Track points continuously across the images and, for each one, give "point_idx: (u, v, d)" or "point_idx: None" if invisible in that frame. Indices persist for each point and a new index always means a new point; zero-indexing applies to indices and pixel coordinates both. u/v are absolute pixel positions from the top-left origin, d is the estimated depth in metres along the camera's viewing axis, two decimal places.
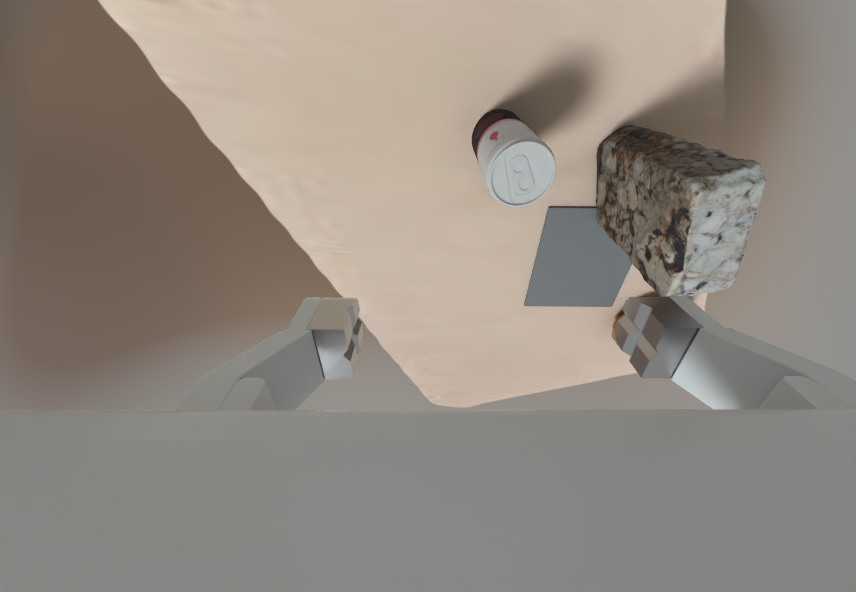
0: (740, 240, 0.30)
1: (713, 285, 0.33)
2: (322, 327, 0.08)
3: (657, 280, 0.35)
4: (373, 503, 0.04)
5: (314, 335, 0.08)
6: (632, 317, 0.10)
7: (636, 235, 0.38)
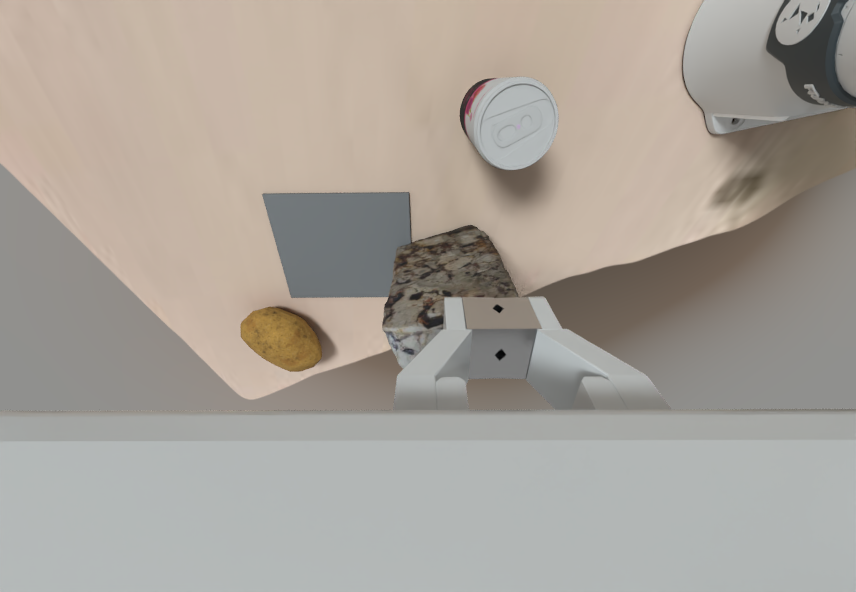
0: None
1: (409, 360, 0.32)
2: (479, 326, 0.08)
3: (398, 314, 0.31)
4: (373, 503, 0.04)
5: (474, 334, 0.08)
6: None
7: (424, 281, 0.36)
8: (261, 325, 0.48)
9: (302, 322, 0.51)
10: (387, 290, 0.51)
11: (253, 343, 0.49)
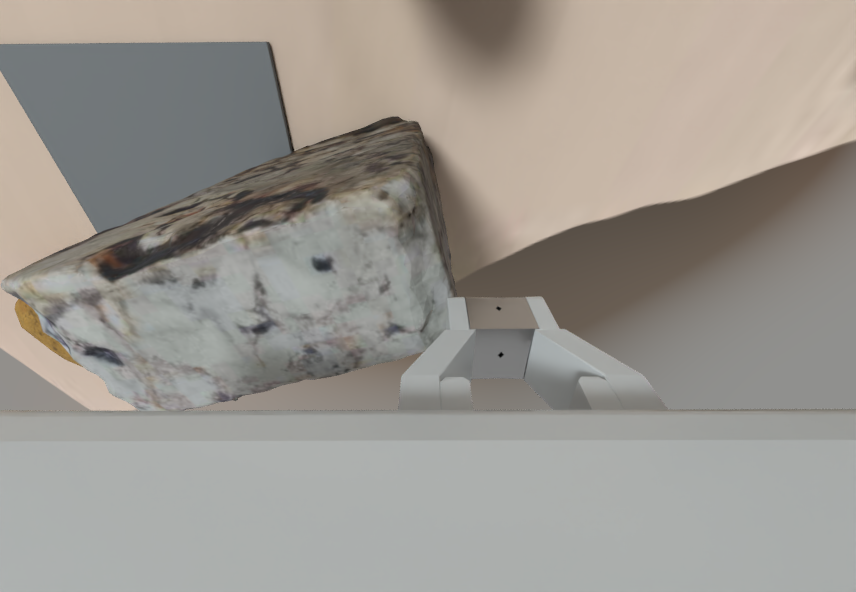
0: (271, 375, 0.11)
1: (124, 382, 0.11)
2: (483, 326, 0.08)
3: (82, 246, 0.11)
4: (373, 503, 0.04)
5: (477, 334, 0.08)
6: None
7: (234, 185, 0.15)
8: None
9: None
10: None
11: (34, 333, 0.29)
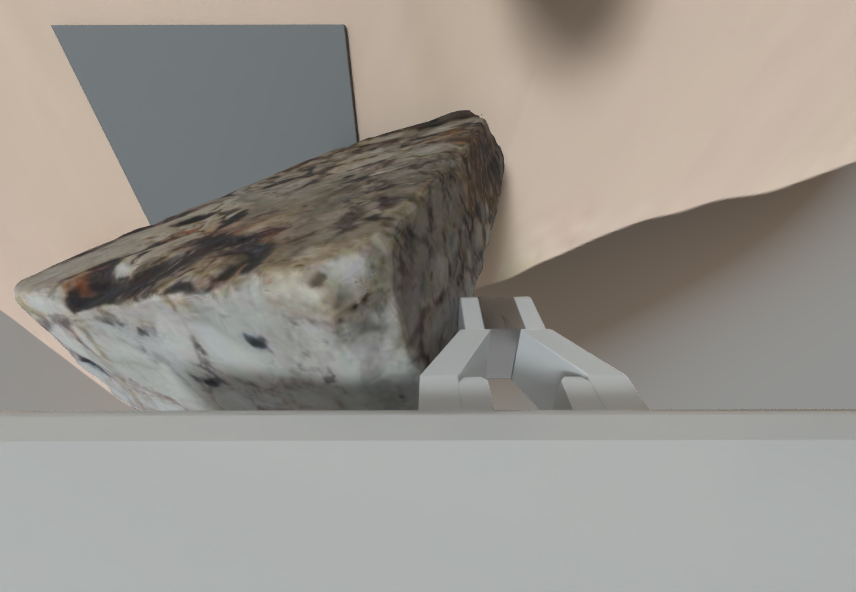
0: None
1: (117, 389, 0.11)
2: (498, 326, 0.08)
3: (91, 255, 0.11)
4: (373, 503, 0.04)
5: (492, 334, 0.08)
6: None
7: (259, 191, 0.14)
8: None
9: None
10: None
11: None
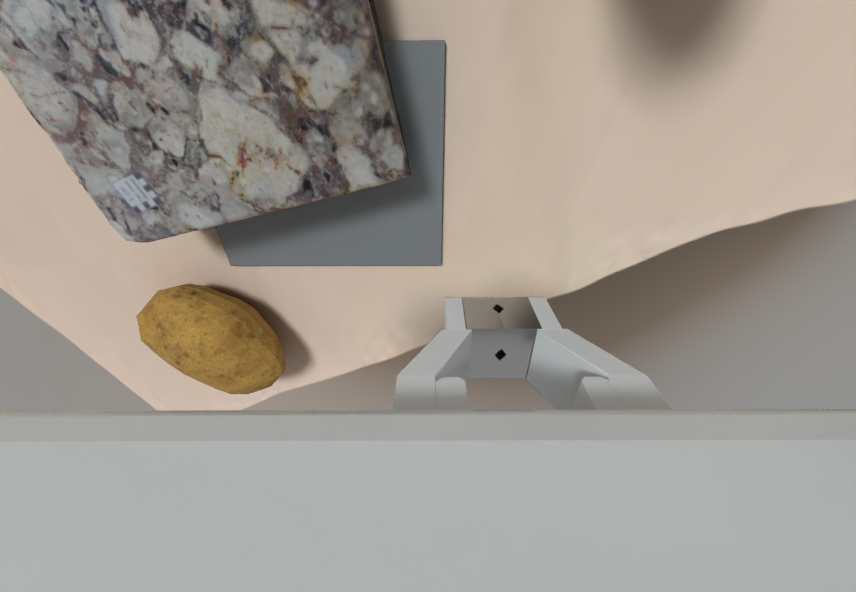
0: None
1: None
2: (480, 326, 0.08)
3: None
4: (373, 503, 0.04)
5: (474, 334, 0.08)
6: None
7: None
8: (167, 314, 0.26)
9: (248, 310, 0.30)
10: (397, 253, 0.29)
11: (157, 346, 0.28)
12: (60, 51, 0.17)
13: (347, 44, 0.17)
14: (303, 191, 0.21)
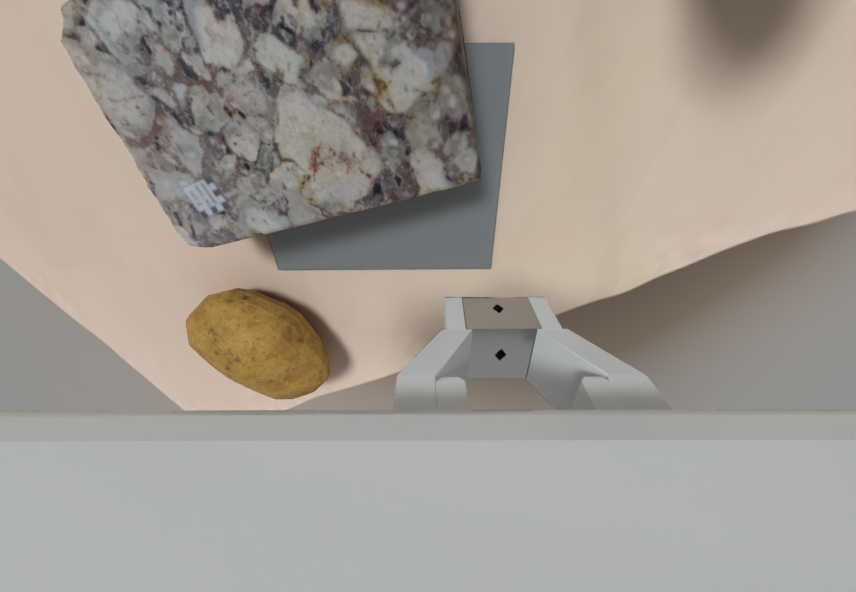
0: None
1: None
2: (479, 326, 0.08)
3: None
4: (373, 503, 0.04)
5: (474, 334, 0.08)
6: None
7: None
8: (220, 319, 0.26)
9: (296, 315, 0.29)
10: (447, 256, 0.29)
11: (208, 352, 0.27)
12: (142, 55, 0.17)
13: (431, 47, 0.17)
14: (373, 195, 0.20)
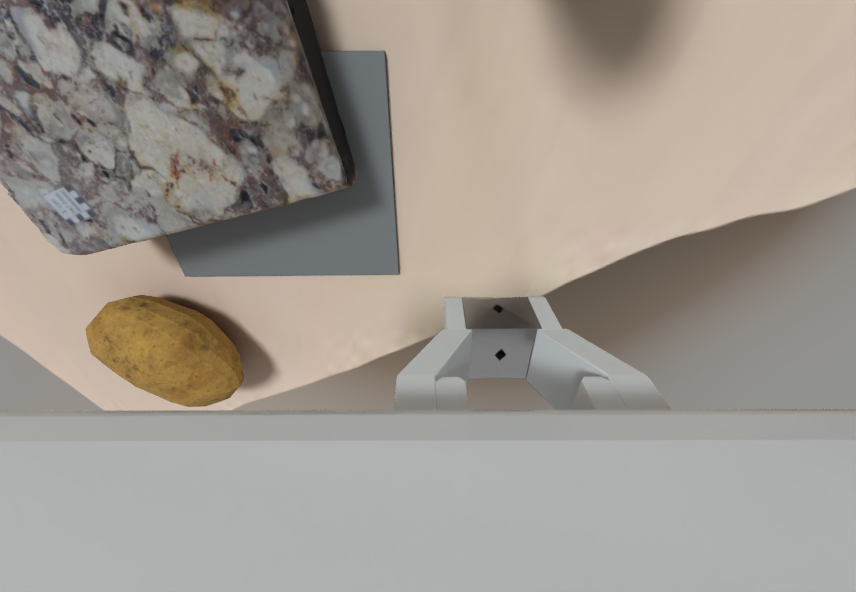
0: None
1: None
2: (479, 326, 0.08)
3: None
4: (373, 503, 0.04)
5: (473, 334, 0.08)
6: None
7: None
8: (114, 327, 0.26)
9: (203, 322, 0.29)
10: (353, 262, 0.29)
11: (107, 360, 0.27)
12: None
13: (273, 55, 0.17)
14: (241, 203, 0.20)
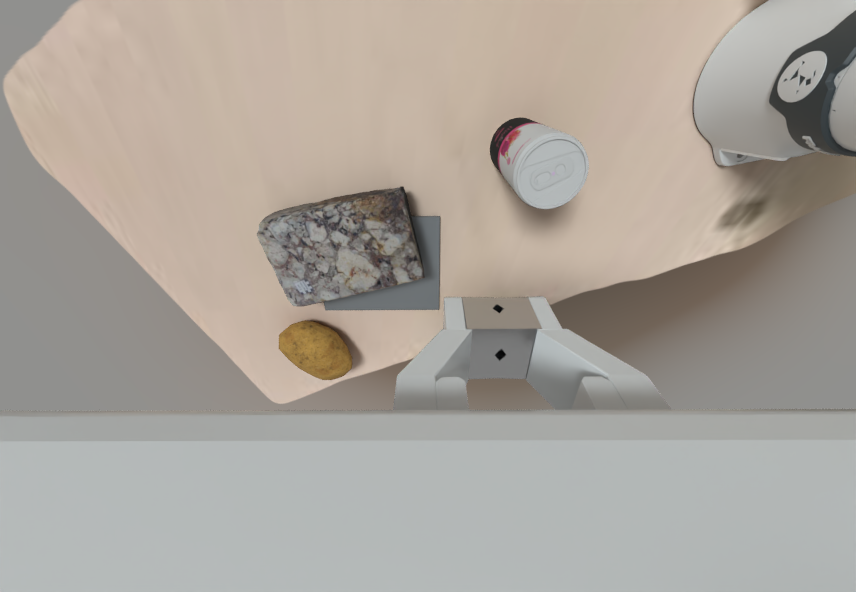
0: None
1: None
2: (479, 326, 0.08)
3: None
4: (373, 503, 0.04)
5: (474, 334, 0.08)
6: None
7: None
8: (299, 337, 0.52)
9: (335, 334, 0.55)
10: (415, 303, 0.54)
11: (291, 354, 0.53)
12: (287, 238, 0.42)
13: (400, 233, 0.43)
14: (377, 285, 0.46)
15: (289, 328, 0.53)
